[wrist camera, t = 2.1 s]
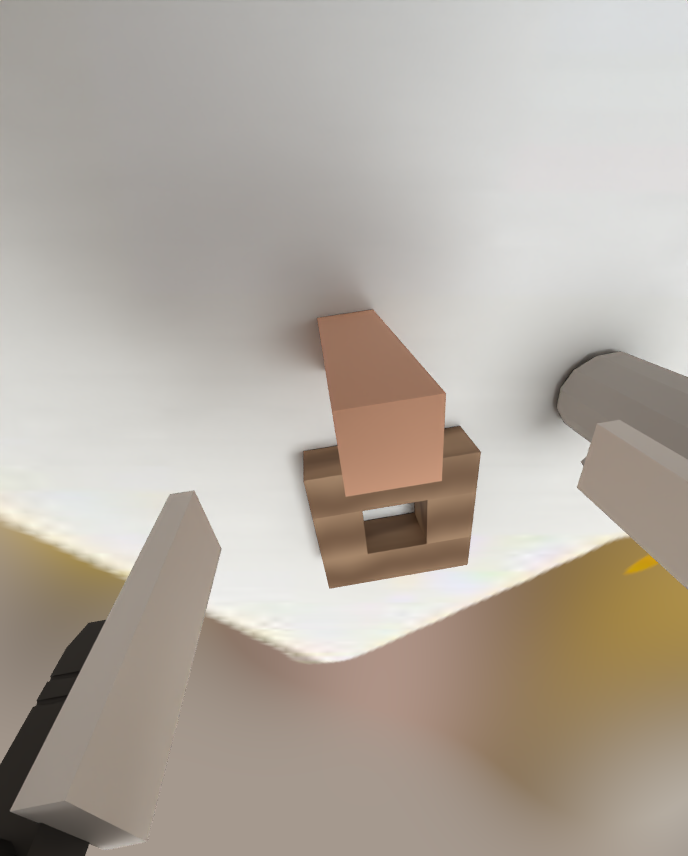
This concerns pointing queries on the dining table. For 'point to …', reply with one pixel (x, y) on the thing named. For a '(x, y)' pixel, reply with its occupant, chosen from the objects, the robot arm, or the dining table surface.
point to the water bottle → (627, 399)
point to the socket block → (393, 517)
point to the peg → (381, 406)
